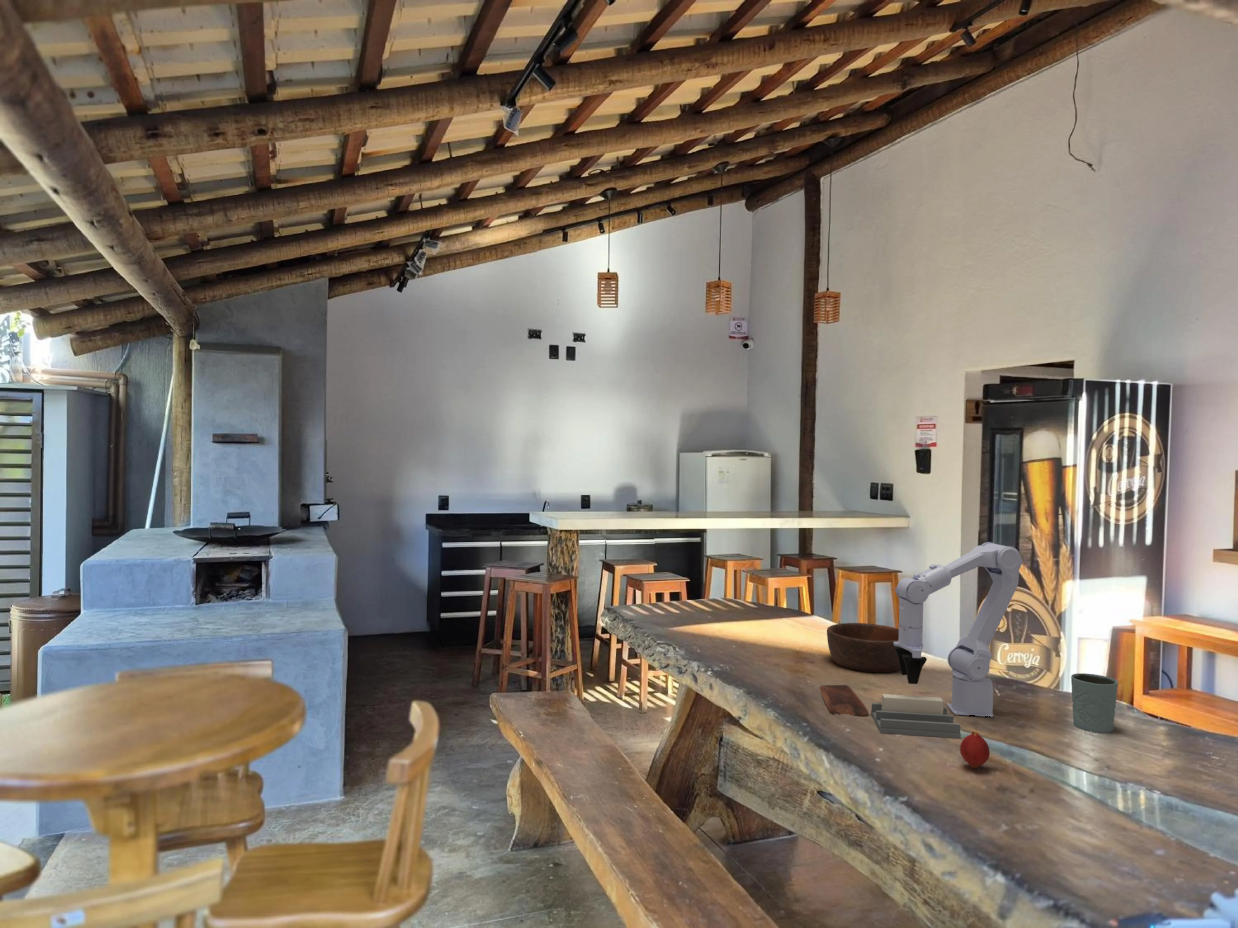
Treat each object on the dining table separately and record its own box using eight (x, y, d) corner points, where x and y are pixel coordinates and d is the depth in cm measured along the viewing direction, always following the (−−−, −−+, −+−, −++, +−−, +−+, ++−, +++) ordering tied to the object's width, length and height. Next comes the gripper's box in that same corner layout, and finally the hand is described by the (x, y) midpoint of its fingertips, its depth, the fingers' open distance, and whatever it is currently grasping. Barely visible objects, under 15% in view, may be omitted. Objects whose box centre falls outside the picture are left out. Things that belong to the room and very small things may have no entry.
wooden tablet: (816, 680, 237) (852, 678, 236) (817, 688, 237) (853, 686, 236) (829, 711, 211) (870, 709, 209) (830, 720, 211) (870, 717, 209)
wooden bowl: (825, 671, 250) (827, 637, 250) (825, 651, 274) (826, 620, 274) (914, 679, 244) (915, 644, 244) (906, 657, 269) (907, 625, 268)
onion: (964, 760, 182) (965, 723, 182) (992, 767, 178) (993, 730, 178) (955, 767, 177) (957, 730, 177) (984, 775, 174) (985, 737, 174)
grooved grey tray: (945, 718, 209) (945, 706, 209) (960, 738, 196) (961, 725, 195) (871, 713, 212) (871, 701, 212) (881, 732, 198) (881, 720, 198)
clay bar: (939, 717, 207) (940, 697, 207) (942, 721, 204) (943, 700, 204) (881, 713, 209) (882, 693, 209) (883, 717, 206) (884, 697, 206)
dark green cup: (1092, 735, 200) (1094, 685, 199) (1059, 721, 209) (1061, 673, 209) (1126, 732, 202) (1128, 683, 202) (1092, 718, 212) (1094, 671, 212)
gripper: (888, 619, 220) (887, 670, 220) (901, 631, 205) (899, 686, 206) (916, 620, 219) (914, 671, 219) (930, 632, 205) (929, 688, 205)
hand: (909, 679), depth 213 cm, fingers open, 7 cm apart
